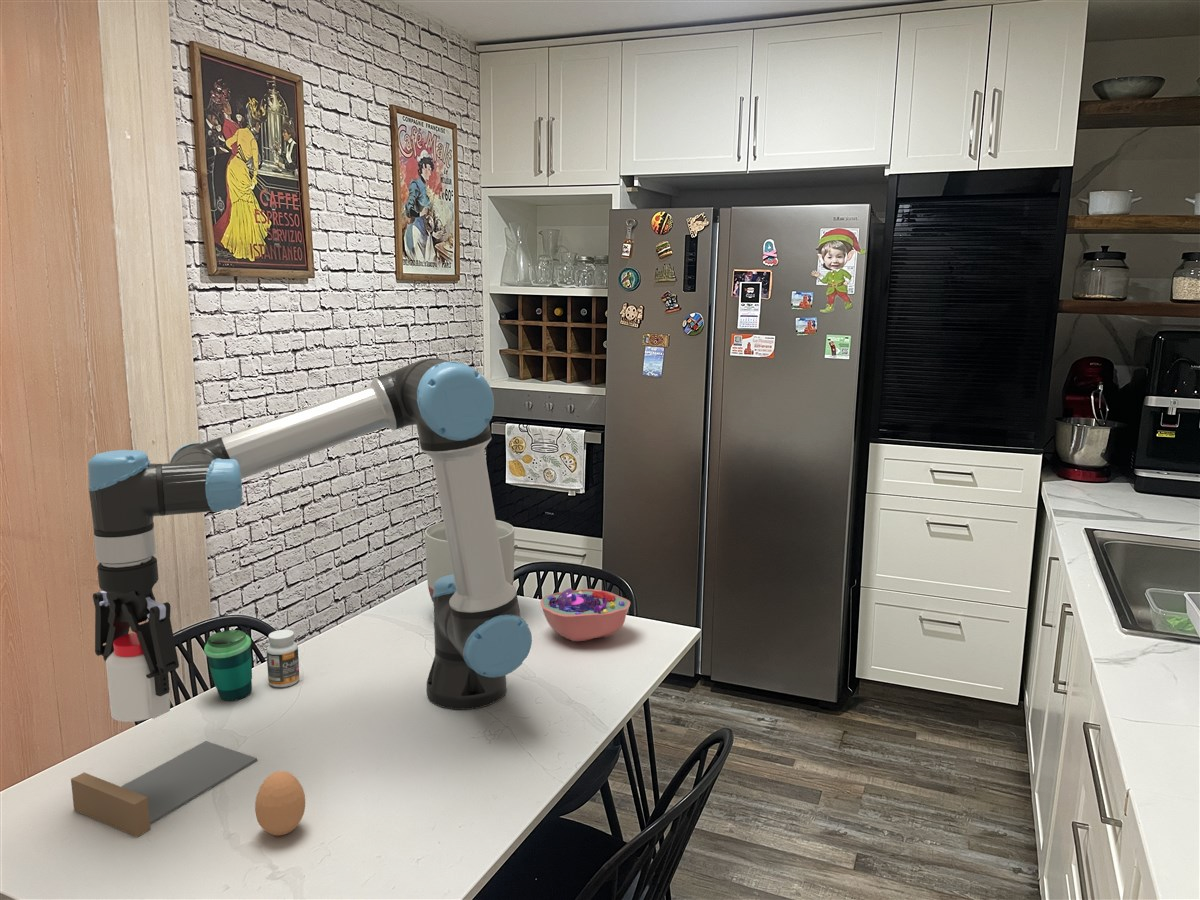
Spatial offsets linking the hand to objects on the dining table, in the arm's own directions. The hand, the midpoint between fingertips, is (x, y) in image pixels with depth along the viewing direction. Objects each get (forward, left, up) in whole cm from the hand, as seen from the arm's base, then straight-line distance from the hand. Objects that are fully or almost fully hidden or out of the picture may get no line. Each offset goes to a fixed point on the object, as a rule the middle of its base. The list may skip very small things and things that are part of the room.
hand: (140, 707), depth 127 cm
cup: (+16, -29, -15) cm, 36 cm away
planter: (-1, -83, -15) cm, 84 cm away
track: (0, -5, -15) cm, 15 cm away
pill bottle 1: (0, 0, 0) cm, 0 cm away
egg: (-24, -3, -15) cm, 28 cm away
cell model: (-30, -85, -15) cm, 91 cm away
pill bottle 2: (+12, -38, -15) cm, 43 cm away
